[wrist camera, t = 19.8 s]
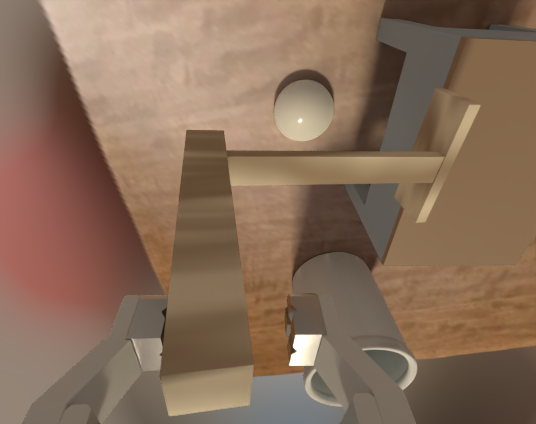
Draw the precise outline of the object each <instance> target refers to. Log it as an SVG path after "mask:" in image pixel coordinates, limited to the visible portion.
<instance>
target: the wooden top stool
mask: <svg viewBox="0 0 536 424" xmlns="http://www.w3.org/2000/svg"><path fill="white" fill-rule="evenodd" d="M376 40H377V41H380V42H382V43H385V44H387V45H390V46H392V47H394V48H397V49H399V50H402V51H404V52H407V54H406V57H405V61H404V65H403V68H402V72H401V76H400V79H399V83H398V86H397V90H396V94H395V97H394V101H393V105H392V108H391V112H390V116H389V119H388V123H387V126H386V130H385V134H384V137H383V141H382V145H381V148H380V151H410V152H411V151H412V149H413V146H414V143H415V141H416V138H417V136H418V133H419V130H420V128H421V125H422V122H423V120H424V117H425V115H426V112H427V109H428V107H429V104H430V101H431V99H432V96H433V94H434V91H435V88H445V89H448V90H450V91H452V92H454V93H456V94H459V95H461V96H463V97H465V98H467V99H469V100H471V101H474V102H476V103H478V104H480V105H481V106H480V108H479V110H478V112H477V115H476V117H475V119H474V121H473V123H472V125H471V127H470V129H469V131H468V133H467V136H466V138H465V140H464V142H463V144H462V146H461V148H460V150H459V152H458V154H457V156H456V159H455V161H454V163H453V165H452V167H451V169H450V171H449V173H448V175H447V177H446V180H445V182H444V184H443V186H442V188H441V190H440V192H439V194H438V196H437V198H436V201H435V203H434V205H433V207H432V209H431V211H430V213H429V215H428V217H427V219H426V222H422V223H416V222H415V221H414V220H413V219H412V218H411V217H410V215H409V214H408V213H407V212H406V211H405V210H404V208H403V207H402V206H401V205H400V204H399V203H398V201H397V200H396V199H395V198H394V196H395V193H396V191H397V188H398V185H399V183H382V184H371V185H370V187H369V185H368V184H344V187H345V189H346V191H347V193H348V195H349V197H350V199H351V201H352V203H353V205H354V207H355V209H356V211H357V213H358V215H359V217H360V220H361V222H362V224H363V226H364V228H365V230H366V232H367V234H368V236H369V238H370V240H371V242H372V244H373V246H374V248H375V250H376V252H377V254H378V256H379V258H380V260H381V262H382V264H383V266H504V265H516V264H517V263H518V261H519V260H520V258H521V257H522V255H523V254H524V253H525V251H526V250H527V248H528V247H529V245H530V244H531V243H532V241H533V240H534V238H535V237H536V29H532V28H525V27H518V26H511V25H497V24H491V25H490V27H489V30H483V29H465V28H447V27H435V26H430V25H426V24H421V23H416V22H411V21H407V20H402V19H391V18H381V19H380V23H379V28H378V32H377V37H376Z"/></svg>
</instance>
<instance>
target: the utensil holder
mask: <svg viewBox="0 0 536 424" xmlns="http://www.w3.org/2000/svg"><path fill="white" fill-rule="evenodd" d="M292 291H293V294H296V293H331V295H332V296H333V300H334V303H335V307H336V310H337V314H338V317H339V321H340V324H341V328H342V331H343V335H348V336H349V337H350V338H351V339H352V340H353V341H354V342H355V343H356V344H357V345H358V346H359V347H360V348H361V349H362V350H363V351H364V352H365V353H366V354H367V355H368V356H369V357H370V358H371V359H372V360H373V361H374V362H375V363H376V364H377V365H378V366H379V367H380V368H381V369H382V370H383V371H384V372H385V373H386V374H387V375H388V376H389V377H390V378H391V379H392V380H393V381H394V382H395V383H396V384H397V385H398V386H399V387H400V388H401V389H402V390H403V389H405V388H406V387H407V386H408V385H409V384H410V383H411V382H412V381H413V379H414V377H415V376H416V372H417V363H416V360H415V357H414V355H413V353H412V352H411V350H410V349H409V348H408V347H407V345H406V343H405V341H404V339H403V337H402V335H401V333H400V331H399V329H398V326H397V324H396V322H395V320H394V318H393V316H392V314H391V312H390V310H389V308H388V306H387V304H386V302H385V300H384V298H383V296H382V293H381V291H380V289H379V288H378V286H377V284H376V282H375V280H374V278H373V276H372V274H371V272H370V270H369V268H368V266H367V265H366V263H365V262H364V261H363V260H362V259H361V258H359V257H357V256H356V255H353V254H350V253H345V252H331V253H326V254H322V255H318V256H316V257H314V258H312V259H310V260H308V261H307V262H305V263H304V264H303V265H302V266H300V268H299V269H298V270H297V271H296V273H295V275H294V277H293V280H292ZM303 376H304V377H303V379H304V385H305V389H306V392H307V393H308V394H309V395H310V397H312V398H313V399H314V400H316V401H318V402H321V403H323V404H327V405H332V406H342V405H341V404H340V402H339V401H338V400H337V398H336V397H335V396H334V394H333V393H332V391H331V390H330V389H329V387H328V386H327V384H326V383H325V382H324V380H323V379H322V378H321V376H320V375H319V373H318V372H317V371H316V369H315V368H314V366H304V375H303Z"/></svg>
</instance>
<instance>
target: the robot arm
mask: <svg viewBox="0 0 536 424" xmlns="http://www.w3.org/2000/svg"><path fill="white" fill-rule="evenodd" d="M167 303H168V296H164V295H161V296H160V295H157V296H156V295H126V296H125V297H124V298H123V300H122V303H121V305H120V308H119V311H118V313H117V316H116V319H115V321H114V324H113V326H112V329H111V332H110V334H109V337H108V340H103V341H101V342H100V343H99V344H98V345H97V346H96V347H95V348H94V349H93V350H91V351H90V352H89V353H88V354H87V355H86V356H85V357H84V358H83V359H81V360H80V361H79V362H78V363H77V364H76V365H75V366H74V367H73V368H72V369H70V370H69V371H68V372H67V373H66V374H65V375H64V376H63V377H62V378H60V379H59V380H58V381H57V382H56V383H55V384H54V385H53V386H52V387H50V388H49V389H48V390H47V391H46V392H45V393H44V394H43V395H42V396H41V397H39V398H38V399H37V400H36V401H35V402H34V403H33V404H32V405H31V407H30V409H29V411H28V413H27V415H26V417H25V419H24V421H23V423H22V424H102V422H103V421H104V420H105V418H106V417H107V416H108V415H109V413H110V412H111V411H112V410H113V408H114V407H115V406H116V405H117V403H118V402H119V401H120V400H121V398H122V397H123V396H124V394H125V393H126V392H127V391H128V389H129V388H130V387H131V385H132V384H133V383H134V382H135V380H136V379H137V378H138V377H139V375H140V374H141V373H142V372H141V371H148V370H160V367H161V358H162V349H163V340H164V331H165V322H166V312H167ZM285 333H286V336H287V337H288V338H289V339H288V345H287V350H288V358H289V365H290V366H314V368H315V369H316V371H317V372H318V373H319V375H320V376H321V378H322V379H323V380H324V382H325V383H326V384H327V386H328V387H329V389H330V390H331V391H332V393H333V394H334V396H335V397H336V398H337V400H338V401H339V402H340V404H341V405H342V407H343V408H344V409H345V411H346V413H345V415H344V417H343V419H342V421H341V423H340V424H416V422H415V420H414V417H413V414H412V412H411V409H410V407H409V404H408V401H407V399H406V396H405V394H404V391H403V390H402V389H401V388H400V387H399V386H398V385H397V384H396V383H395V382H394V381H393V380H392V379H391V378H390V377H389V376H388V375H387V374H386V373H385V372H384V371H383V370H382V369H381V368H380V367H379V366H378V365H377V364H376V363H375V362H374V361H373V360H372V359H371V358H370V357H369V356H368V355H367V354H366V353H365V352H364V351H363V350H362V349H361V348H360V347H359V346H358V345H357V344H356V343H355V342H354V341H353V340H352V339H351V338H350V337H349V336H348V335H343V331H342V328H341V324H340V321H339V317H338V314H337V310H336V307H335V303H334V300H333V296H332V295H331V293H296V294H288V296H287V308H285Z"/></svg>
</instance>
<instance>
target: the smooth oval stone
mask: <svg viewBox="0 0 536 424" xmlns="http://www.w3.org/2000/svg"><path fill="white" fill-rule="evenodd" d="M333 114H334V103H333V99H332V97H331V95H330V93H329V92H328V90H327V89H326V88H325V87H324V86H323V85H322V84H320V83H319V82H316V81H314V80H309V79H302V80H297V81H294V82H292V83H290V84H288V85H287V86H286V87H285V88H284V89H283V90H282V91H281V92H280V93H279V95H278V97H277V99H276V101H275V105H274V117H275V121H276V124H277V127H278V128H279V130H280V131H281V132H282V133H283V134H284V135H285V136H286V137H288V138H290V139H292V140H296V141H308V140H311V139H314V138H316V137H318V136H319V135H321V134H322V133H323V132H324V131H325V130H326V129H327V128H328V126H329V125H330V123H331V121H332V118H333Z"/></svg>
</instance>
